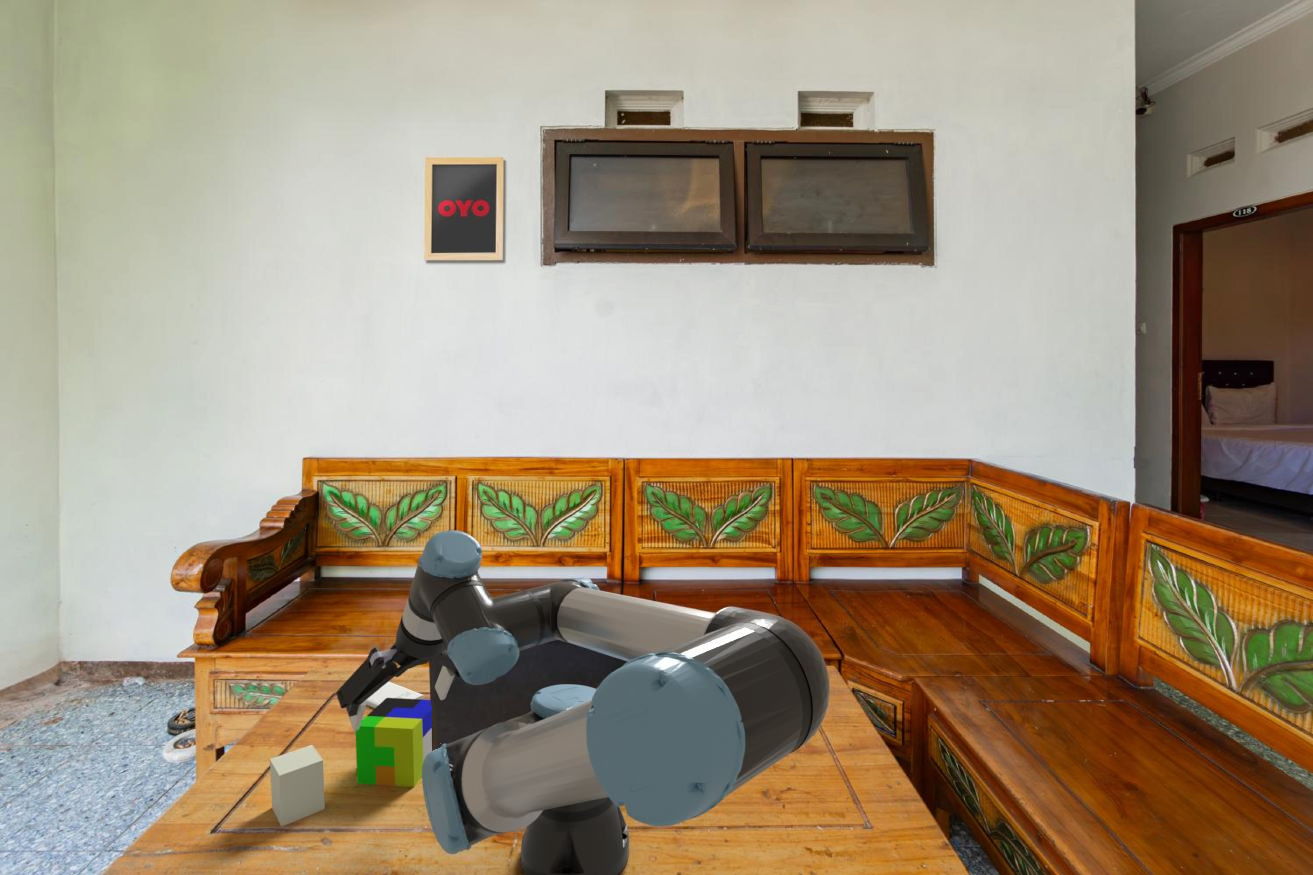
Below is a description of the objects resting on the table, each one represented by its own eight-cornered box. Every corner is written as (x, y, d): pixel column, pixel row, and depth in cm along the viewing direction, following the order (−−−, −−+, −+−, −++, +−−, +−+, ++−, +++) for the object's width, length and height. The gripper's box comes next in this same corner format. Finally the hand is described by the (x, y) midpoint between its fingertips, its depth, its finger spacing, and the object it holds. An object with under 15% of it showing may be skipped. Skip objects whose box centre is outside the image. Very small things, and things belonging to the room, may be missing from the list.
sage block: (324, 809, 99) (323, 759, 99) (281, 826, 95) (279, 775, 95) (313, 791, 104) (312, 744, 103) (271, 807, 100) (269, 758, 99)
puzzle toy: (440, 753, 115) (439, 700, 114) (414, 787, 105) (412, 728, 104) (388, 750, 116) (386, 697, 115) (357, 783, 106) (355, 725, 105)
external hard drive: (388, 687, 142) (424, 700, 136) (354, 702, 135) (390, 717, 129) (388, 680, 142) (424, 693, 136) (354, 694, 135) (390, 709, 129)
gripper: (496, 582, 101) (462, 664, 111) (327, 622, 84) (305, 714, 94) (517, 619, 97) (480, 700, 107) (344, 668, 80) (319, 759, 90)
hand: (398, 707), depth 100 cm, fingers open, 13 cm apart
